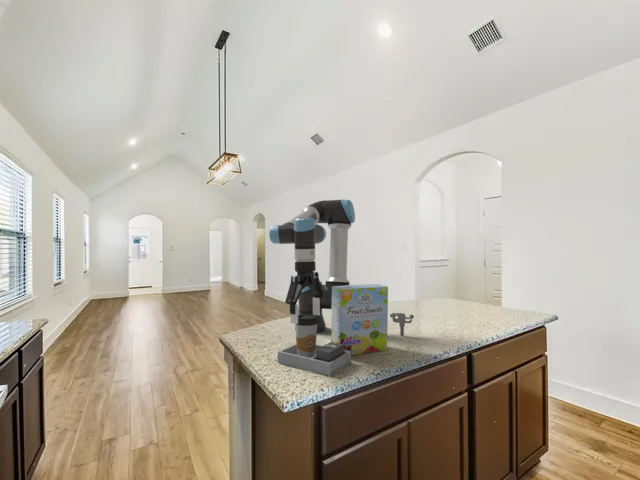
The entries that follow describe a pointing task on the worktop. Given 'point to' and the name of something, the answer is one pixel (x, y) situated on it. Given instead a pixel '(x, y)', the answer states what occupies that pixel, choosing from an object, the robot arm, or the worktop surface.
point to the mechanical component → (401, 320)
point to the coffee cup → (306, 335)
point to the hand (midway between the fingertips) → (305, 318)
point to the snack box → (360, 317)
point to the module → (330, 352)
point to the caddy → (313, 361)
